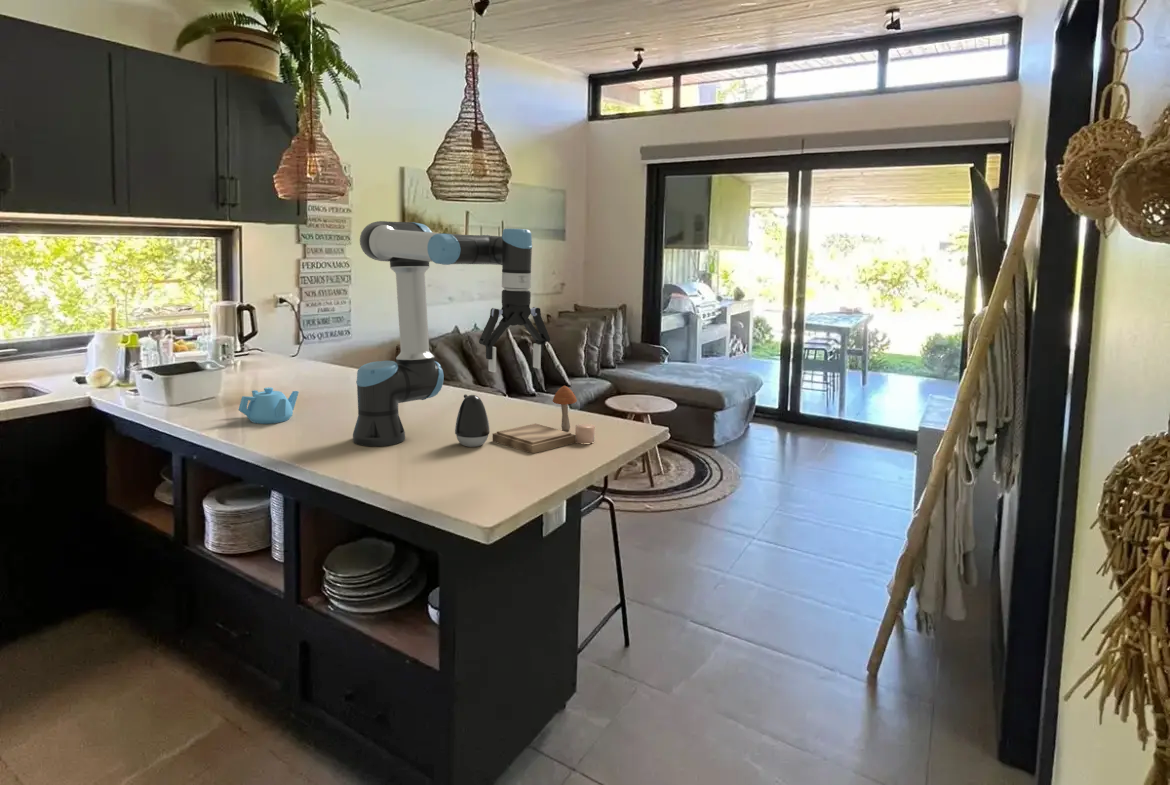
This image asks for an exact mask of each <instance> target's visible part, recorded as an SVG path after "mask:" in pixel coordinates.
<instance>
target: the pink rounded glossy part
mask: <svg viewBox="0 0 1170 785" xmlns="http://www.w3.org/2000/svg"><path fill="white" fill-rule="evenodd" d="M574 428H575V430H574V431H575V433H574V435H576V442H577V443H576V444H578V443H592V442H594V441H595V440H596V438H595V435H596V426H595V425H594V424H590V423H580V424H579V423H578V424H576V425H575V427H574ZM594 443H595V442H594Z"/></svg>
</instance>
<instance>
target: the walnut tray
mask: <svg viewBox="0 0 1170 785" xmlns="http://www.w3.org/2000/svg"><path fill="white" fill-rule="evenodd" d="M491 441H492V442H494V443H498V444H500V445H504V446H507V447H510V448H514V449H517V450H520V451H522V452H527V453H529V454H537V453H541V452H544V451H549V450H552V449H556V448H561V447H564V445H565V446H568V444H569V445H572V444H571V443H573V444H576V443H575V442H576V435H575V434H573V433H572V432H568V431H562V429H561V430H560V429H558V428H553V427H550V426H547V425H546V426H545V425H542V424H539V423H531V424H527V425H522V426H516V427H513V428H508V429H503V430H500V431H496V432H493V433H492V440H491Z"/></svg>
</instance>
